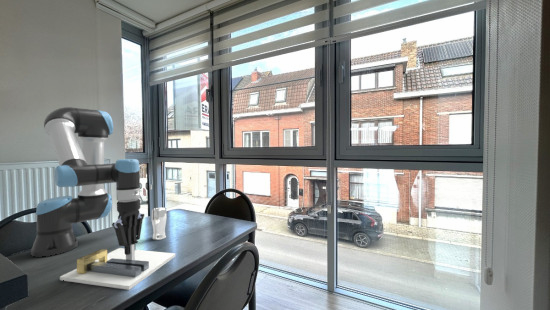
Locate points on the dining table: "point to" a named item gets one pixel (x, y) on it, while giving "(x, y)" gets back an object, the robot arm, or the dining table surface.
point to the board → (118, 280)
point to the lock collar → (91, 260)
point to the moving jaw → (130, 263)
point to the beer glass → (159, 223)
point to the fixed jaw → (114, 269)
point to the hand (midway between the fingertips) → (130, 261)
